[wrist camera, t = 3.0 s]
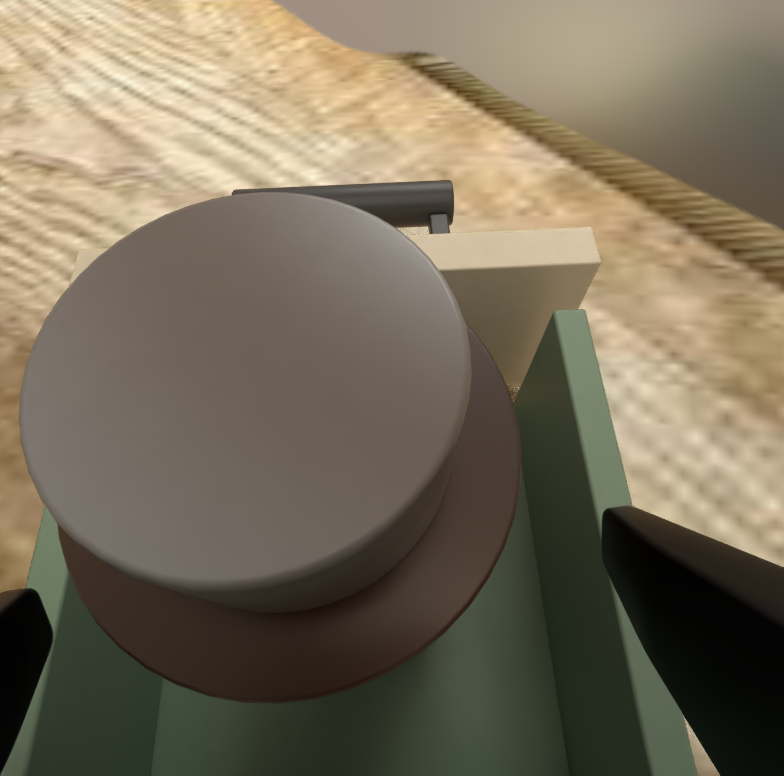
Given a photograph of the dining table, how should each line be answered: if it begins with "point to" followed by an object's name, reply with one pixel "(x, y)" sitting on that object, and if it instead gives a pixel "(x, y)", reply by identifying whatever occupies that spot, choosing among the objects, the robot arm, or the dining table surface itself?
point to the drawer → (470, 631)
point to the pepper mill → (270, 447)
